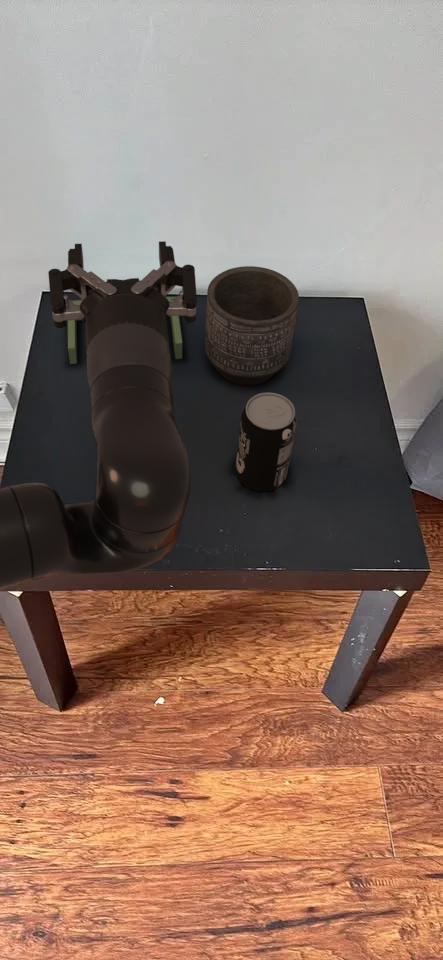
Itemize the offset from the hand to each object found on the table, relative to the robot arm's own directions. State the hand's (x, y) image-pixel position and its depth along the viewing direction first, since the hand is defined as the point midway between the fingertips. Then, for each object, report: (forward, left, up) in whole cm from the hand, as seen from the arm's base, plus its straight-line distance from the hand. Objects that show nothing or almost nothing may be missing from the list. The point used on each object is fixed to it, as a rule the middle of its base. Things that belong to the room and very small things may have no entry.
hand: (120, 249), depth 77 cm
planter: (+17, +11, -28) cm, 35 cm away
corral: (0, +18, -28) cm, 33 cm away
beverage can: (+16, -9, -28) cm, 34 cm away
